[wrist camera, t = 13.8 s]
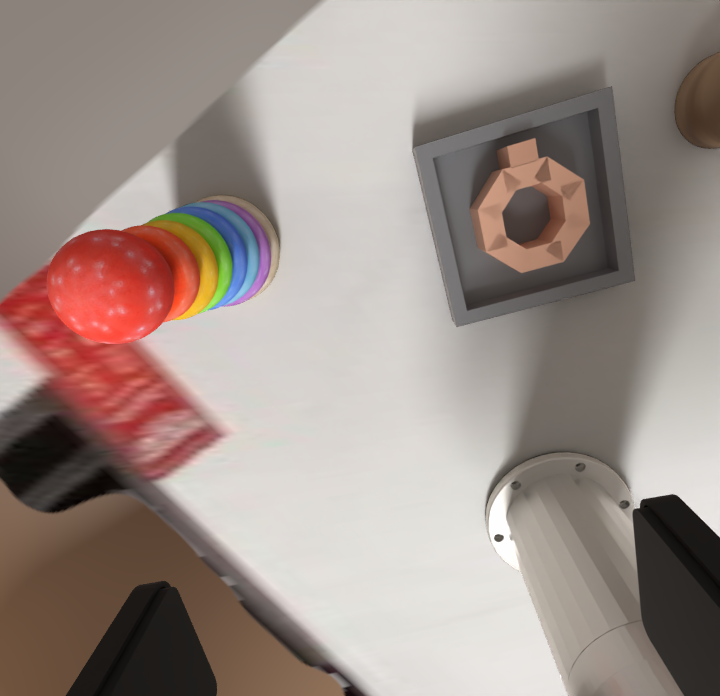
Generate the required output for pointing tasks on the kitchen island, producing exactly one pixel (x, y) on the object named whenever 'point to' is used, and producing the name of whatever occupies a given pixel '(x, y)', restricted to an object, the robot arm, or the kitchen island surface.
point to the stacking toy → (163, 269)
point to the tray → (528, 208)
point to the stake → (700, 104)
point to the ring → (563, 202)
